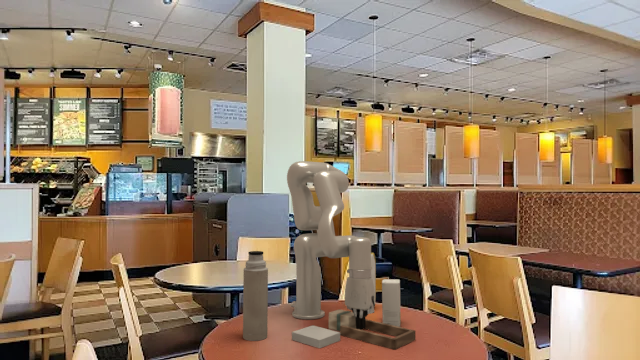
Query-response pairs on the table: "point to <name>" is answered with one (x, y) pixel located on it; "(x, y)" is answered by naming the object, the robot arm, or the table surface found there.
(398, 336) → the shelf bay
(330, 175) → the robot arm
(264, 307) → the thermos bottle
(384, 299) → the skincare box
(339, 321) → the parcel
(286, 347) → the table surface
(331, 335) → the plate
